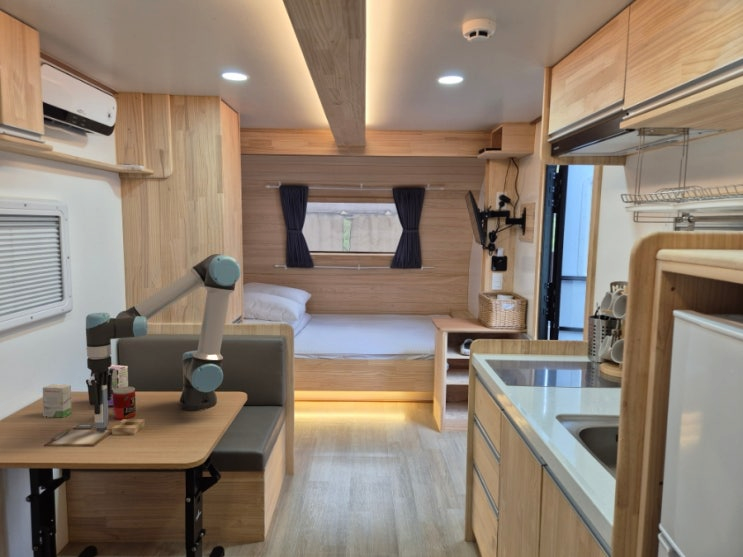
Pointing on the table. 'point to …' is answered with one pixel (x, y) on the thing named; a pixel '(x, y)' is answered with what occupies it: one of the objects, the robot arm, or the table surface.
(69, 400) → the ink box
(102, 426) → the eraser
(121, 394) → the canned food
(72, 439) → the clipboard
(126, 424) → the pen stand
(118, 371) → the candy box
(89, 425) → the plate
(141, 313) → the robot arm
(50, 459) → the table surface
